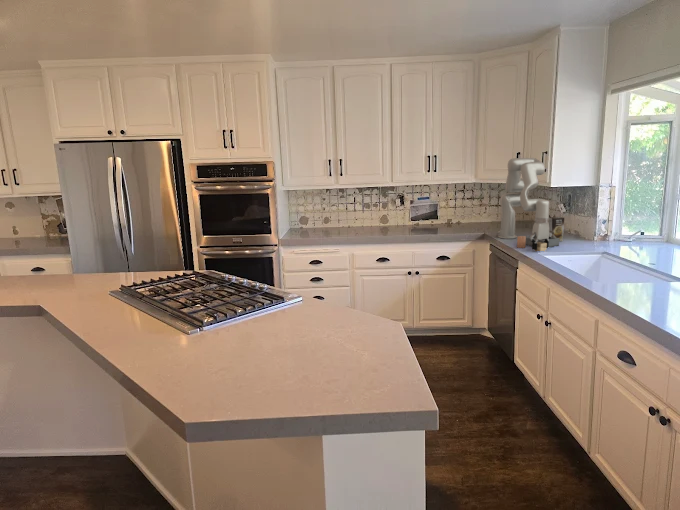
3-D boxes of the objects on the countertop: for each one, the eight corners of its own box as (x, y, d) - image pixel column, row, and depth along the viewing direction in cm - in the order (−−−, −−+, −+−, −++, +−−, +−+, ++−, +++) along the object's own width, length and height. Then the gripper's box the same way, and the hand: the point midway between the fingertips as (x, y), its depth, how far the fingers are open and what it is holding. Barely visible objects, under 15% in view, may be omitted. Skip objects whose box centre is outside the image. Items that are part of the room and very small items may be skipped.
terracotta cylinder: (515, 247, 289) (515, 236, 288) (521, 246, 291) (521, 235, 290) (521, 248, 285) (521, 237, 284) (527, 247, 287) (527, 236, 286)
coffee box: (551, 242, 300) (553, 218, 296) (545, 240, 306) (546, 217, 303) (563, 241, 302) (565, 217, 299) (556, 239, 308) (557, 216, 305)
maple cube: (533, 250, 277) (534, 242, 276) (539, 249, 279) (540, 242, 278) (540, 252, 273) (540, 244, 272) (546, 251, 275) (546, 243, 274)
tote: (520, 244, 299) (521, 236, 297) (536, 241, 304) (536, 234, 303) (543, 248, 282) (543, 240, 281) (558, 246, 288) (559, 238, 287)
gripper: (547, 218, 279) (545, 246, 283) (526, 221, 272) (524, 249, 276) (557, 220, 272) (555, 247, 276) (536, 222, 265) (534, 251, 269)
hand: (540, 248), depth 276 cm, fingers open, 9 cm apart
